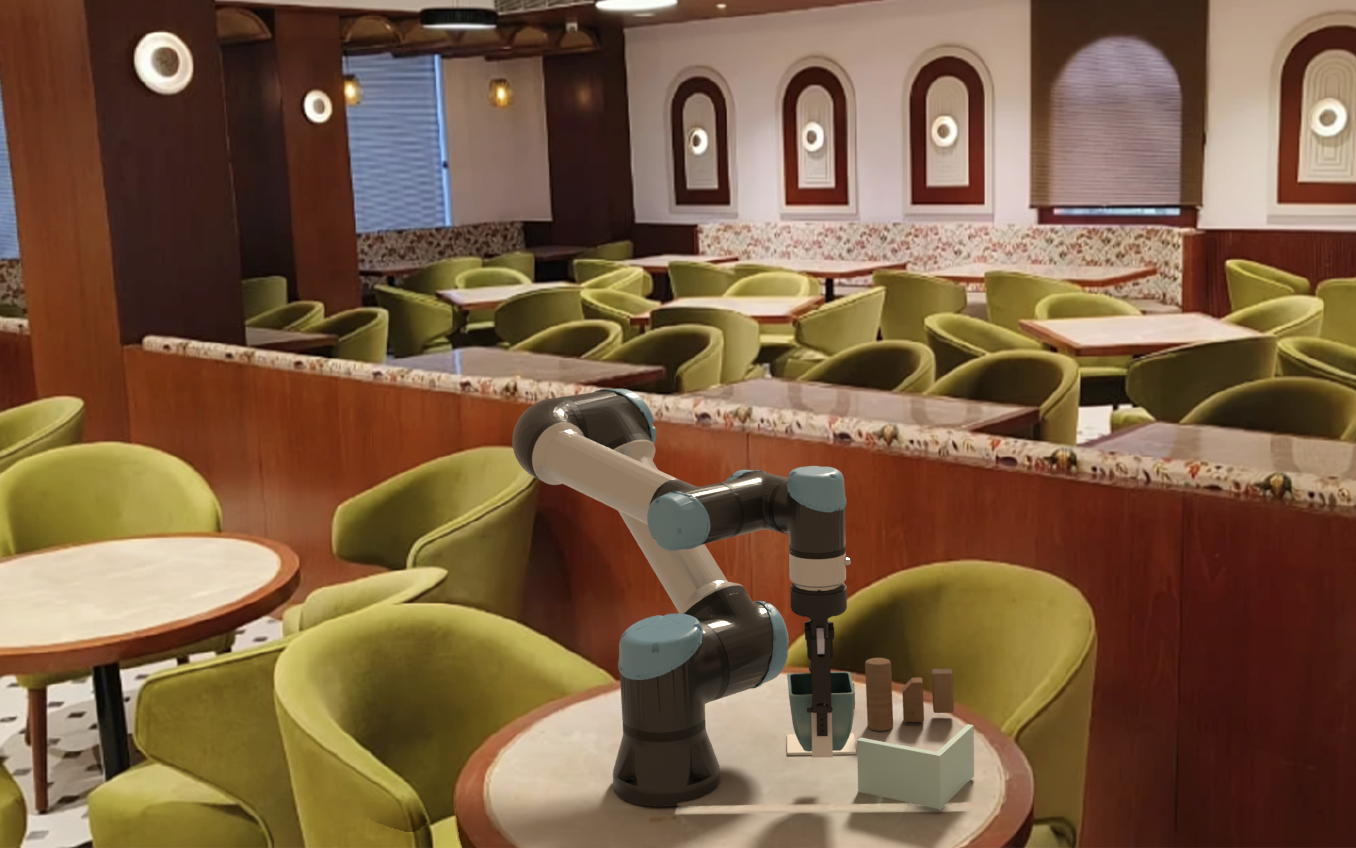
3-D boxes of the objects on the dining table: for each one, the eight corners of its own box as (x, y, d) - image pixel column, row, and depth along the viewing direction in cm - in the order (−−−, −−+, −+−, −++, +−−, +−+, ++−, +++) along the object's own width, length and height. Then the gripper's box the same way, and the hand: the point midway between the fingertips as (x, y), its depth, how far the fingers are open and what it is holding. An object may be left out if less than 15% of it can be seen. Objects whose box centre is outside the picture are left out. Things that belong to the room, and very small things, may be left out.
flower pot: (788, 733, 204) (786, 672, 202) (851, 732, 203) (850, 670, 202) (790, 759, 195) (788, 695, 193) (857, 757, 195) (855, 693, 193)
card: (787, 755, 212) (787, 751, 212) (787, 737, 219) (786, 733, 219) (856, 754, 212) (856, 750, 212) (853, 735, 219) (853, 732, 219)
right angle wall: (974, 776, 203) (973, 725, 201) (940, 809, 193) (940, 756, 191) (894, 761, 209) (893, 711, 208) (858, 792, 199) (857, 740, 198)
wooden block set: (953, 714, 226) (950, 649, 225) (955, 731, 217) (953, 663, 216) (836, 715, 228) (833, 650, 228) (834, 732, 220) (831, 665, 219)
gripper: (850, 606, 184) (852, 775, 188) (843, 560, 205) (845, 713, 209) (790, 607, 185) (794, 775, 189) (789, 561, 206) (792, 713, 210)
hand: (821, 742), depth 199 cm, fingers closed on flower pot, 8 cm apart
